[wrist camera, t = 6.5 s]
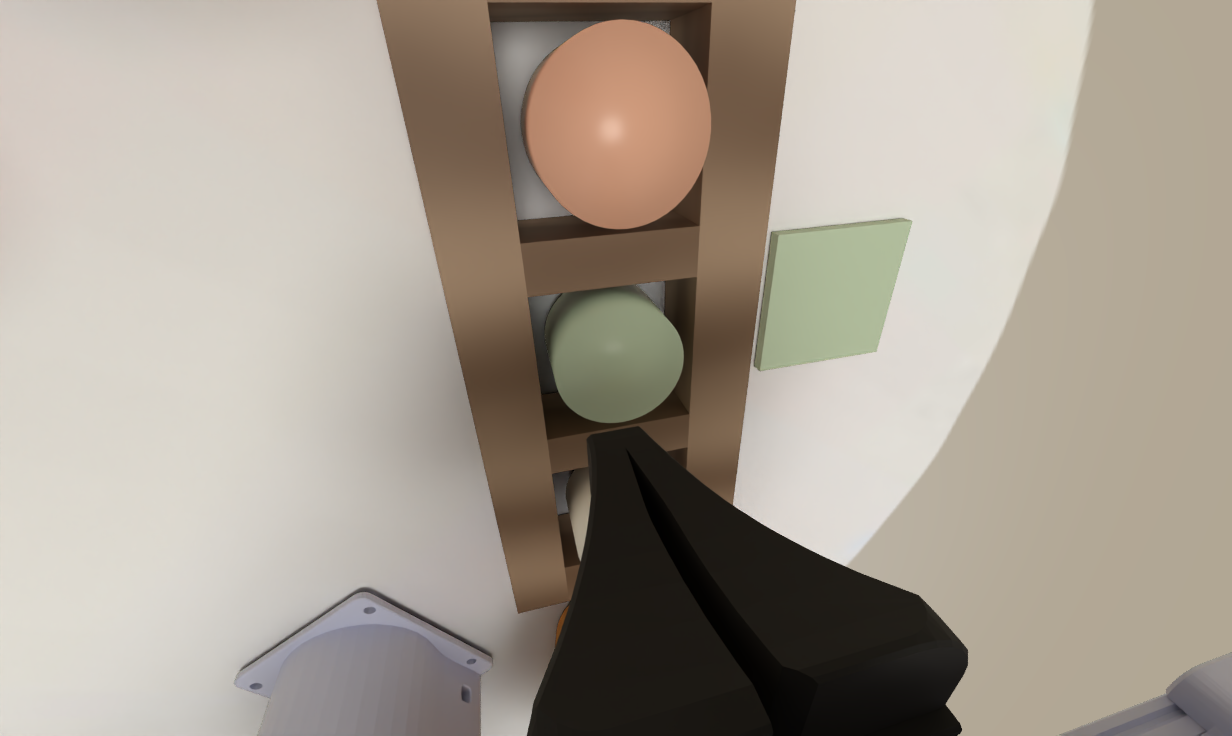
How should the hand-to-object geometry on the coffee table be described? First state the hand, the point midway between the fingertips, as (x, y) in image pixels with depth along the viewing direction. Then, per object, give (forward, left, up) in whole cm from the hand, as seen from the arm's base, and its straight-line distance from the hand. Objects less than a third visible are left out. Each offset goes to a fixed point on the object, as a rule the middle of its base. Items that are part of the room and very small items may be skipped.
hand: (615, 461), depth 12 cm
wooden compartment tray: (0, -1, -8) cm, 8 cm away
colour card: (-5, -10, -8) cm, 14 cm away
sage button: (0, -1, -7) cm, 7 cm away
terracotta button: (+6, -5, -6) cm, 9 cm away
